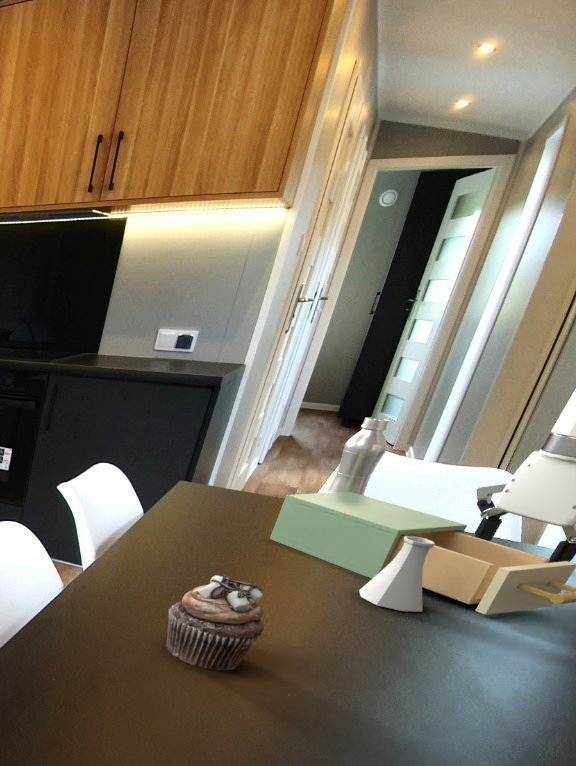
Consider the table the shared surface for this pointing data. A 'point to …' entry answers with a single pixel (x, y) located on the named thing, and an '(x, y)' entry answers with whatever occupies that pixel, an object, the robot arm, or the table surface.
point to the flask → (400, 578)
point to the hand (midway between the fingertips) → (516, 552)
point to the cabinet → (351, 528)
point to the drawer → (491, 573)
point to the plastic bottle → (361, 457)
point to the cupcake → (216, 623)
